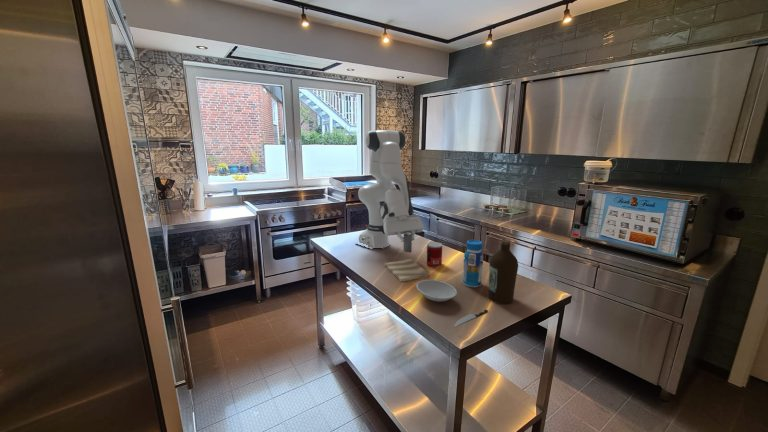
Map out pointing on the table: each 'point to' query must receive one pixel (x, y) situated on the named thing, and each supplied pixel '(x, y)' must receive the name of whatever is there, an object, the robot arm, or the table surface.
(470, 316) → the chef's knife
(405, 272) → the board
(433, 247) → the canned food
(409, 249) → the dark grey cylinder
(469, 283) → the beverage bottle
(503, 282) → the olive oil
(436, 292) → the dish
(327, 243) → the table surface
